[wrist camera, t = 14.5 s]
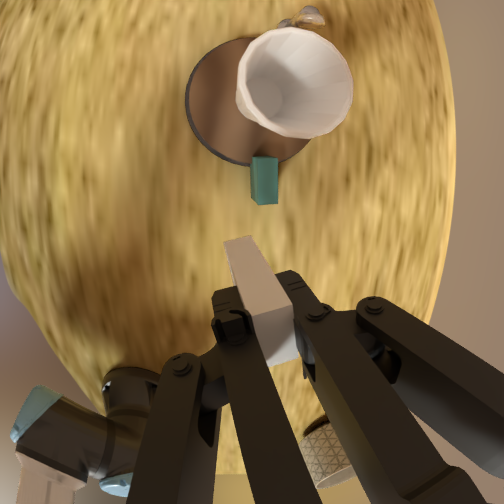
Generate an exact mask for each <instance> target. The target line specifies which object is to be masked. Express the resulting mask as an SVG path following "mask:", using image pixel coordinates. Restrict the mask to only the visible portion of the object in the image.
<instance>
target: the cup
mask: <svg viewBox="0 0 504 504" xmlns="http://www.w3.org/2000/svg"><path fill="white" fill-rule="evenodd" d="M235 101H236V104H237V106H238V109H239V111H240V112H241V113H242V114H243V115H244V116H245V117H246V118H248V119H250V120H252V121H255V122H258V123H259V125H261V126H263V127H265V128H267V129H270V130H272V131H274V132H276V133H278V134H280V135H282V136H285V137H293V138H303V139H311V138H314V137H317V136H321V135H324V134H327V133H330V132H331V131H332V130H333V129H334V128H335V127H336V126H338V125H339V124H340V123H341V122H342V121H343V120H344V119H345V117H346V115H347V113H348V111H349V108H350V106H351V104H352V102H353V78H352V75H351V72H350V70H349V67H348V64H347V61H346V60H345V58H344V57H343V56H342V55H341V53H340V52H339V51H338V50H337V48H336V47H335V46H334V45H333V44H332V43H331V42H329V41H328V40H326V39H325V38H323V37H321V36H320V35H318V34H317V33H315V32H313V31H309V30H305V29H300V28H295V27H285V28H279V29H273V30H268V31H267V32H265V33H264V34H262V35H261V36H259V37H258V38H256V39H255V40H253V41H252V42H250V44H249V46H248V48H247V49H246V51H245V53H244V55H243V56H242V58H241V60H240V62H239V66H238V76H237V90H236V100H235Z"/></svg>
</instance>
